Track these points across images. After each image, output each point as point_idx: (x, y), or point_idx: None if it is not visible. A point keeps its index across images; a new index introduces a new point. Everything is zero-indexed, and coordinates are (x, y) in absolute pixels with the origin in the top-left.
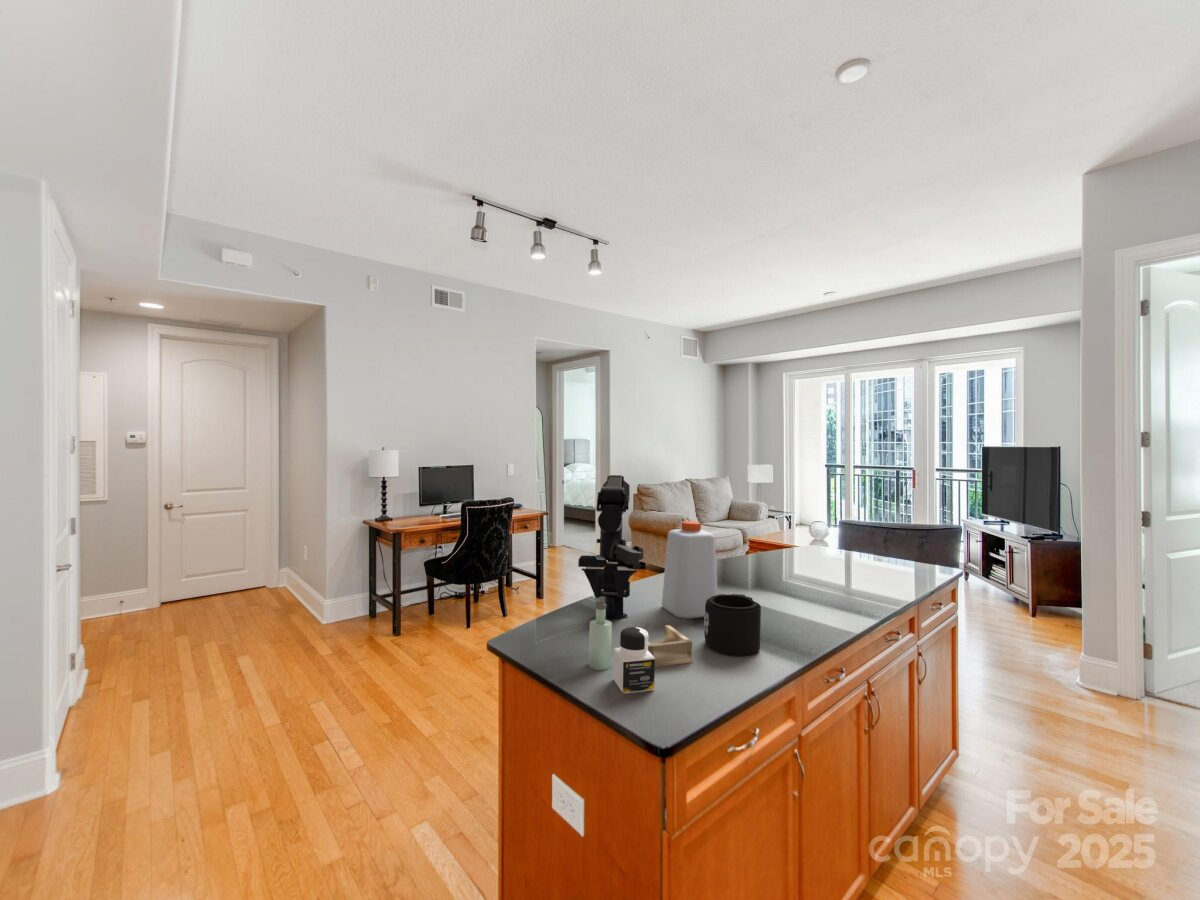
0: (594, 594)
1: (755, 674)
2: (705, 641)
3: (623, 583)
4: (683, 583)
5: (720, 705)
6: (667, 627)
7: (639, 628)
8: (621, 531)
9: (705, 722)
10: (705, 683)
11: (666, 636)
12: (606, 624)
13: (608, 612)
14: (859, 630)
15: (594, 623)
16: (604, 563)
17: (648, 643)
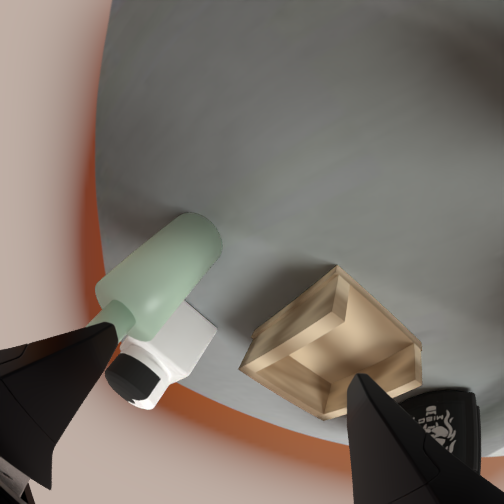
0: (91, 327)
1: (329, 430)
2: (427, 396)
3: (355, 476)
4: None
5: (221, 399)
6: (401, 385)
7: (137, 403)
8: None
9: (181, 384)
10: (263, 395)
11: (405, 360)
12: (130, 329)
13: None
14: (491, 456)
15: (106, 297)
16: (24, 501)
17: (255, 367)
